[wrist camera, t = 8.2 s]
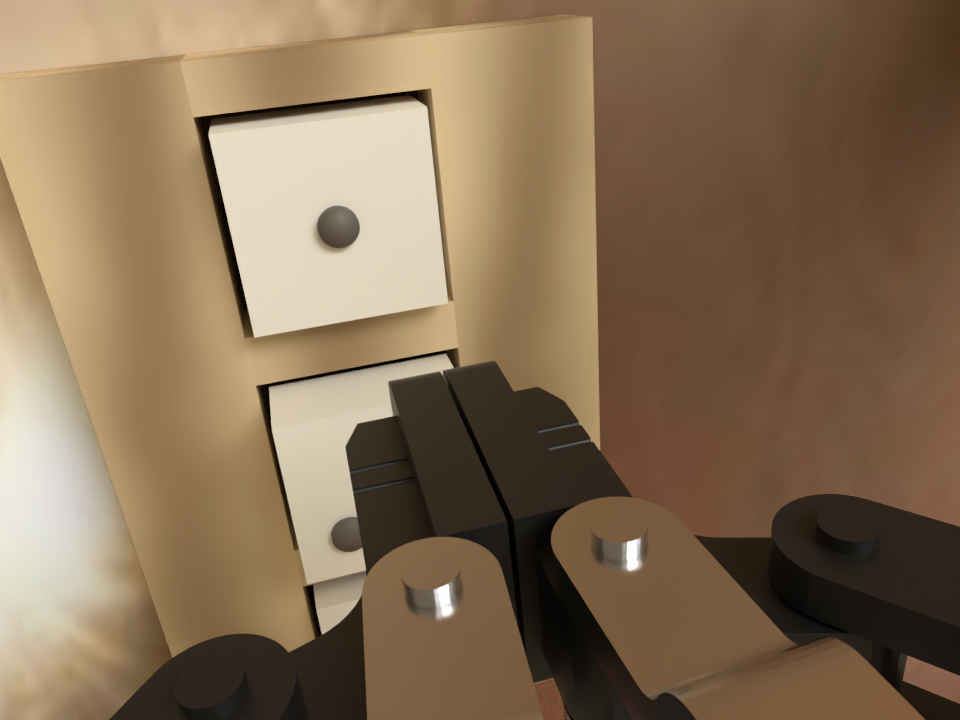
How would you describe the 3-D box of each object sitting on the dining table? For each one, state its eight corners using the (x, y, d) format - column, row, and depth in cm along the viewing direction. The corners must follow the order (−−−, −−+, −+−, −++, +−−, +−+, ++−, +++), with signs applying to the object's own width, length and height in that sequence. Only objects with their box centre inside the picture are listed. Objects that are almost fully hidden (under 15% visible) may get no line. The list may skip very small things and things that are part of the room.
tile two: (445, 353, 23) (467, 394, 21) (461, 496, 25) (483, 547, 23) (268, 386, 22) (271, 433, 20) (301, 532, 24) (307, 589, 22)
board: (563, 14, 22) (592, 17, 20) (583, 626, 31) (604, 664, 30) (-1, 74, 19) (-26, 84, 17) (213, 725, 29) (212, 773, 27)
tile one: (408, 94, 21) (428, 108, 19) (429, 274, 23) (450, 306, 21) (211, 118, 20) (208, 136, 18) (253, 304, 22) (254, 341, 20)
